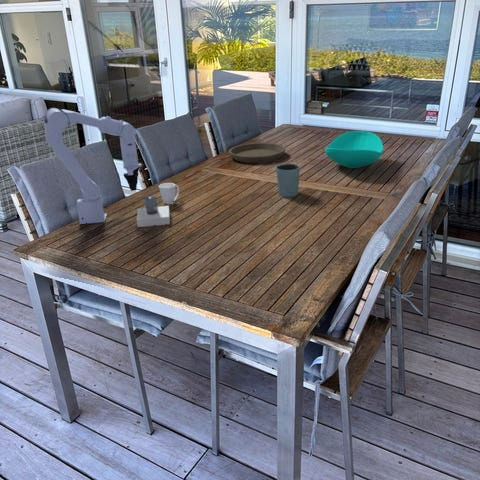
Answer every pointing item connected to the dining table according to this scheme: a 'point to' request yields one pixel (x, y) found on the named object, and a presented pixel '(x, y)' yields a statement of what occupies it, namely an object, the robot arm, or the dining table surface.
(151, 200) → the grey cylinder
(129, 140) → the robot arm
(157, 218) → the base block
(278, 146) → the plant saucer
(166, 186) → the cup
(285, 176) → the drinking glass
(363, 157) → the table top decor
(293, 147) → the dining table surface
